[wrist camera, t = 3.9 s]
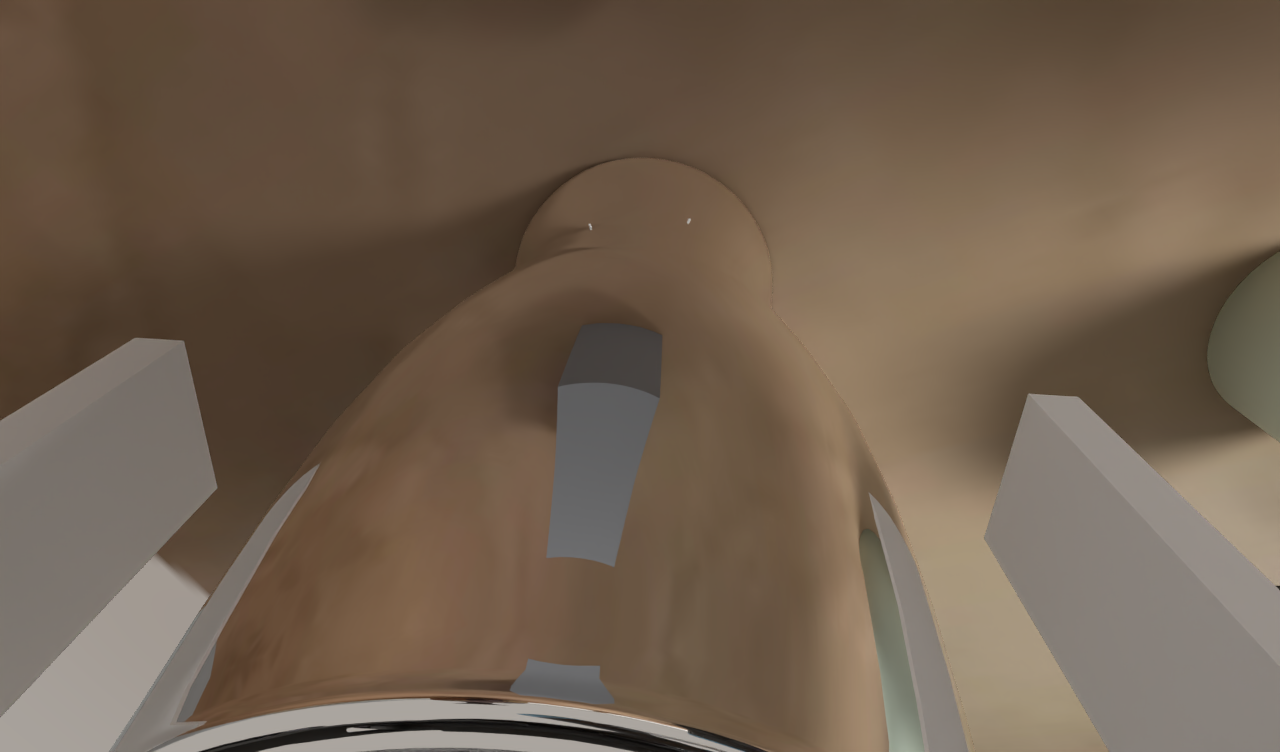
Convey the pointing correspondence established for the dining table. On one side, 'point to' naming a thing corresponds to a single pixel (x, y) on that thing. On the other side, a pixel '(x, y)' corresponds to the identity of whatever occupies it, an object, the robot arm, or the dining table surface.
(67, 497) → the robot arm
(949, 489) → the dining table surface
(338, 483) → the beer glass
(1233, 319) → the sage cylinder
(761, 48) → the dining table surface
